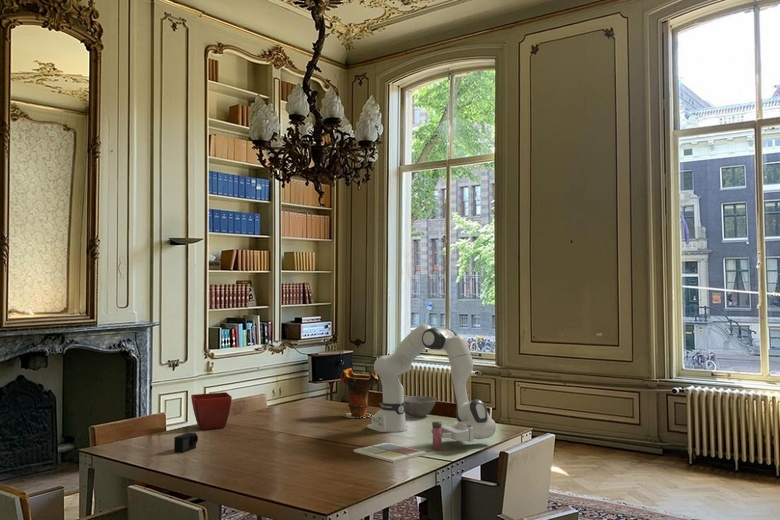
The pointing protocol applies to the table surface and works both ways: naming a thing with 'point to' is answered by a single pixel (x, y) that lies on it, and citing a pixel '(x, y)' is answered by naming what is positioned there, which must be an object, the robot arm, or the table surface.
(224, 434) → the table surface
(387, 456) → the picture board
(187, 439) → the digital camera
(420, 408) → the ceramic bowl
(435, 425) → the marker
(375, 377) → the decorative vase
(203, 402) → the plant pot
